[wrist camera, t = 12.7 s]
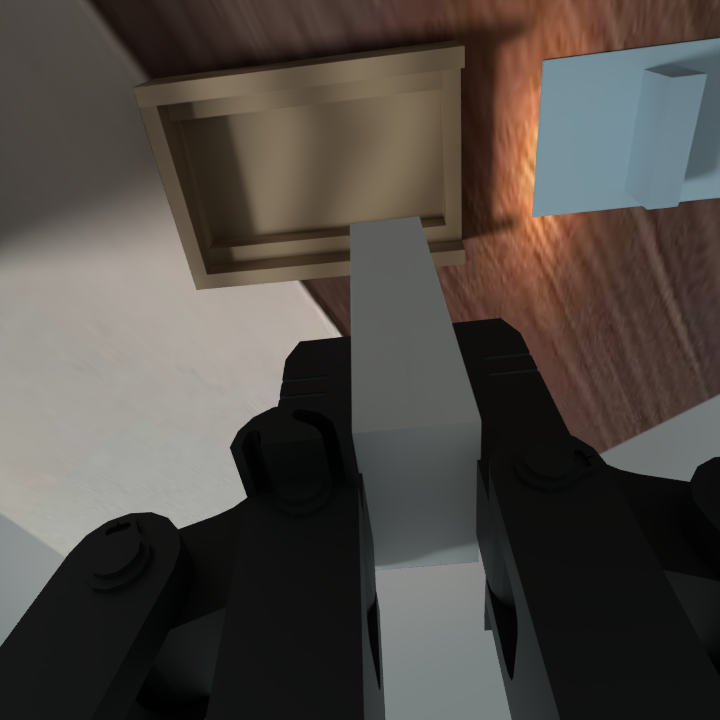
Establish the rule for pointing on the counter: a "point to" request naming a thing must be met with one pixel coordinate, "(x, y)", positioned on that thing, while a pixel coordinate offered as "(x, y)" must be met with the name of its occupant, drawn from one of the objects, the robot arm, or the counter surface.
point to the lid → (629, 129)
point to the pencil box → (308, 159)
